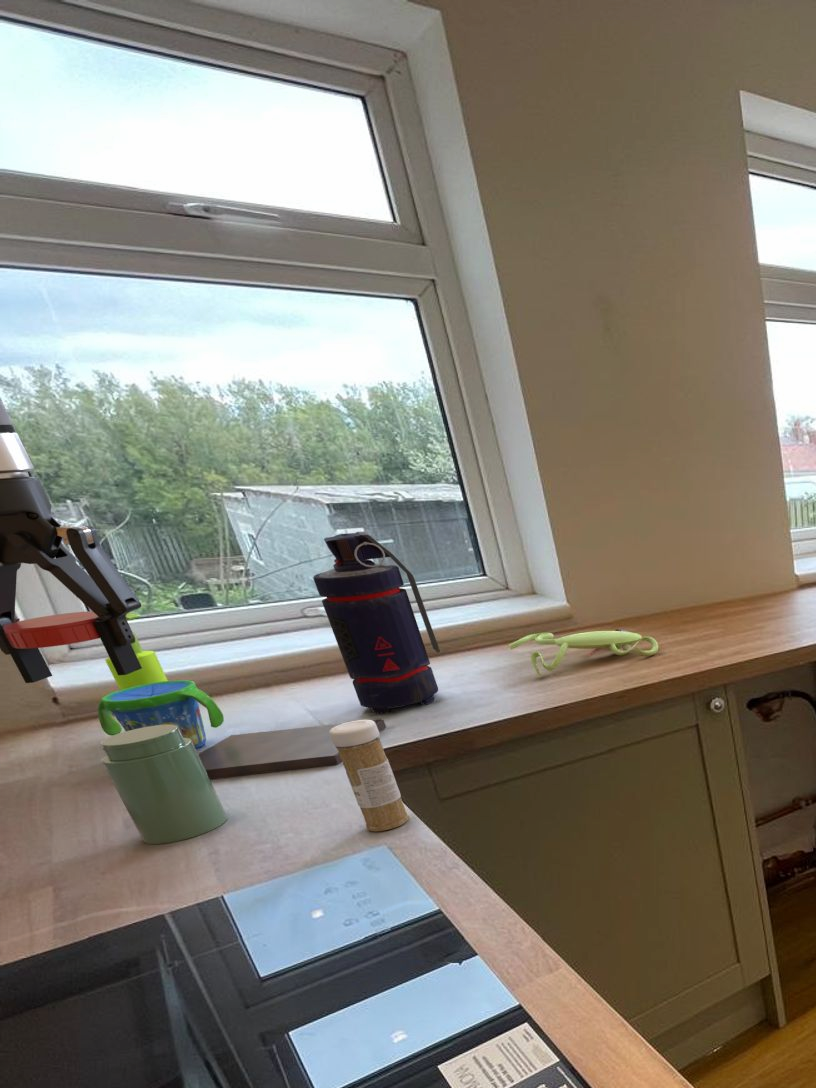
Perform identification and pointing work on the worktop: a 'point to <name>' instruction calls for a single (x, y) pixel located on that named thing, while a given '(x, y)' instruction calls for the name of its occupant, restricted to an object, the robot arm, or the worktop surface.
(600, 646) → the figurine
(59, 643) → the lid
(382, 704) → the grenade
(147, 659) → the soap dispenser
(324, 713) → the worktop surface
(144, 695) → the snack cup
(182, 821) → the jar
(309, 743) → the board
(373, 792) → the sprinkles bottle
